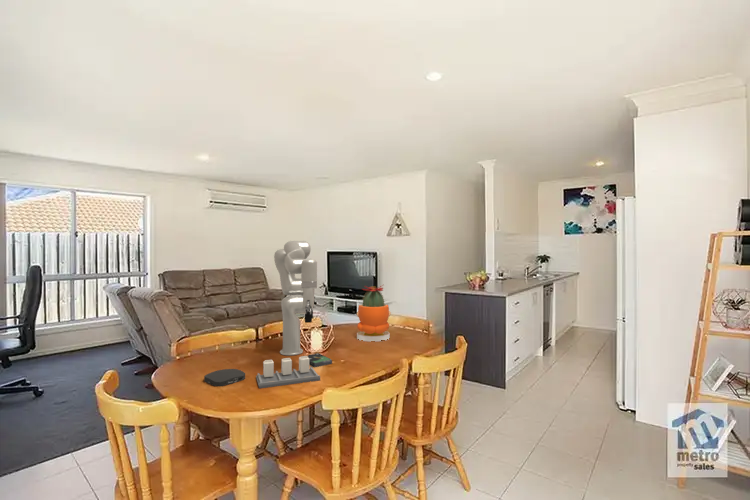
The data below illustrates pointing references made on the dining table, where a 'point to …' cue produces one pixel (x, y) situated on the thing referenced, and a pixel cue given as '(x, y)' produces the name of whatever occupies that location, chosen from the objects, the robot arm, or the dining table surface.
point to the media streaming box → (224, 377)
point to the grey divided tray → (287, 378)
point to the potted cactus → (373, 316)
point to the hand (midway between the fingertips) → (308, 320)
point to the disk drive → (318, 360)
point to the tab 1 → (268, 368)
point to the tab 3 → (303, 364)
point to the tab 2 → (286, 366)
